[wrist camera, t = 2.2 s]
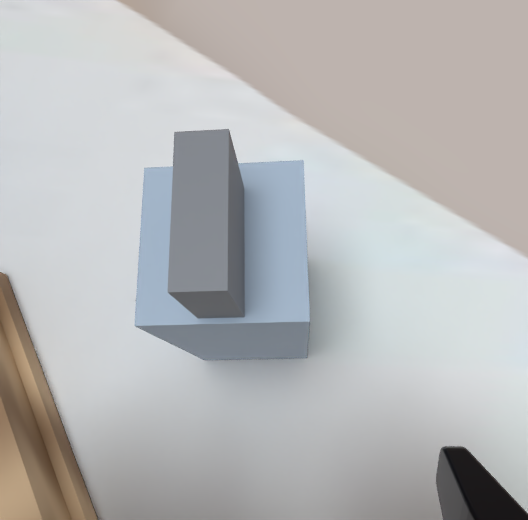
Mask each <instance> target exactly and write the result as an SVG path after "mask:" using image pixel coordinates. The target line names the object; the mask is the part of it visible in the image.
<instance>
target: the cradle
mask: <svg viewBox="0 0 528 520" xmlns="http://www.w3.org/2000/svg"><path fill="white" fill-rule="evenodd" d="M0 520H98V519H97V516H96V513H95V511H94V508H93V505H92V503H91V500H90V497H89V495H88V492H87V489H86V487H85V484H84V481H83V478H82V476H81V473H80V470H79V468H78V465H77V462H76V460H75V457H74V454H73V452H72V449H71V446H70V444H69V441H68V438H67V436H66V433H65V430H64V428H63V425H62V422H61V419H60V417H59V414H58V411H57V409H56V406H55V403H54V401H53V398H52V395H51V393H50V390H49V387H48V385H47V382H46V379H45V377H44V374H43V371H42V368H41V366H40V363H39V360H38V358H37V355H36V352H35V350H34V347H33V344H32V342H31V339H30V336H29V334H28V331H27V328H26V326H25V323H24V320H23V318H22V315H21V312H20V309H19V307H18V304H17V301H16V299H15V296H14V293H13V291H12V288H11V285H10V283H9V280H8V277H7V275H6V274H3V273H1V272H0Z"/></svg>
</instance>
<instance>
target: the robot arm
mask: <svg viewBox="0 0 528 520" xmlns="http://www.w3.org/2000/svg"><path fill="white" fill-rule="evenodd" d="M436 484H437V491H438V496H439V501H440V505H441V510H442V515H443V520H528V513H527V512H526V511H525V510H524V509H523V508H522V507H521V506H520V505H519V504H518V503H517V502H516V501H515V500H514V499H513V497H512V496H511V495H510V494H509V493H508V492H507V491H506V490H505V489H504V488H503V487H502V486H501V485H500V484H499V483H498V482H497V480H496V479H495V478H494V477H493V476H492V475H491V474H490V473H489V472H488V471H487V470H486V469H485V468H484V467H483V466H482V465H481V463H480V462H479V461H478V460H477V459H476V458H475V457H474V456H473V455H472V454H471V453H470V452H469V451H468V450H467V449H466V448H464V447H461V446H445V447H442V448H441V450H440V455H439V461H438V468H437V474H436Z"/></svg>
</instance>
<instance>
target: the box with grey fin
mask: <svg viewBox="0 0 528 520" xmlns="http://www.w3.org/2000/svg"><path fill="white" fill-rule="evenodd" d="M135 326H136V327H138V328H140V329H142V330H144V331H146V332H148V333H150V334H152V335H154V336H156V337H158V338H160V339H162V340H164V341H166V342H168V343H170V344H172V345H175V346H177V347H179V348H181V349H183V350H185V351H187V352H189V353H191V354H193V355H195V356H197V357H199V358H201V359H203V360H237V359H286V358H307V352H308V340H309V327H310V311H309V285H308V260H307V235H306V210H305V185H304V160H300V161H279V162H258V163H238V162H237V158H236V154H235V150H234V147H233V143H232V139H231V135H230V132H229V129H222V130H203V131H184V132H174V155H173V167H153V168H144V182H143V199H142V215H141V231H140V247H139V263H138V279H137V295H136V311H135Z"/></svg>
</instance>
